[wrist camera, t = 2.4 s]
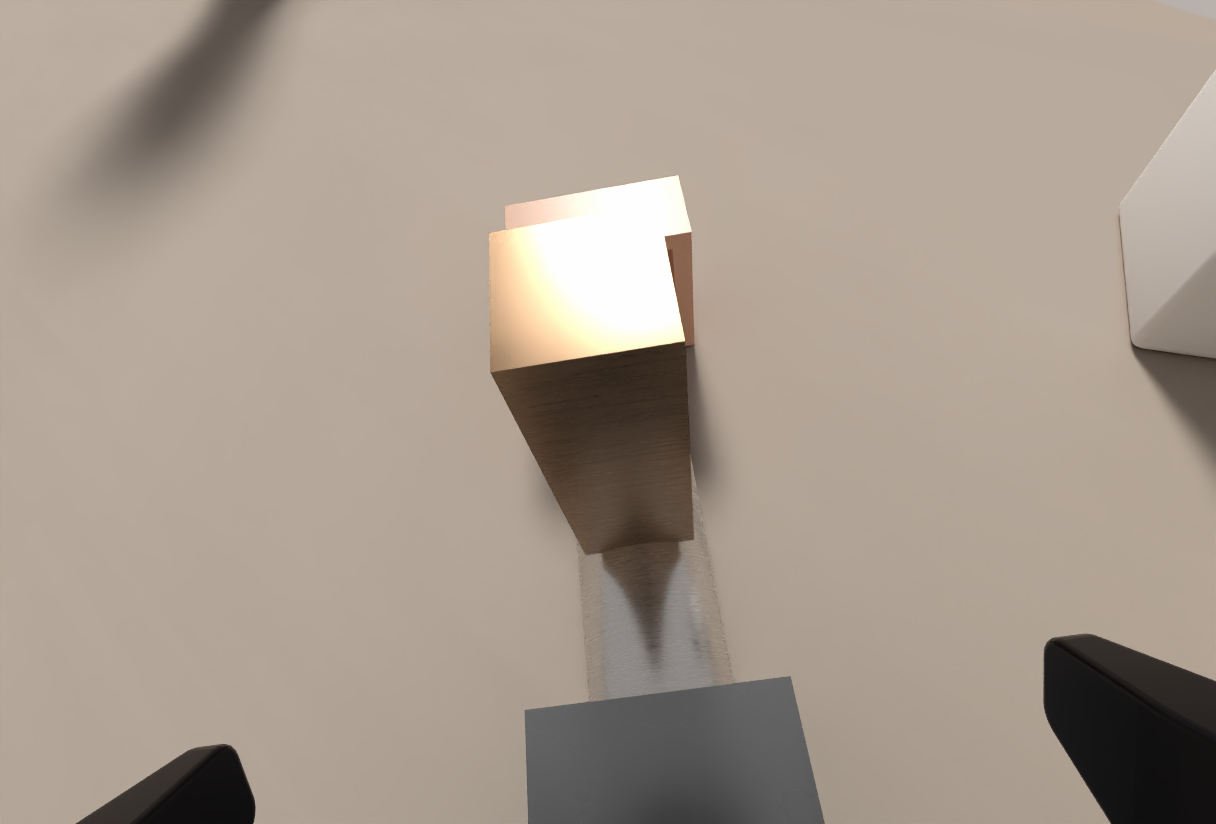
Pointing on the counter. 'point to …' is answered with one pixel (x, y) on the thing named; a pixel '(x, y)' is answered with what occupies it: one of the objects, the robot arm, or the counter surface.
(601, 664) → the brown and silver piece
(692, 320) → the socket block
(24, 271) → the counter surface
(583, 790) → the steel block
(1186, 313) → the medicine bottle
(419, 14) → the counter surface
